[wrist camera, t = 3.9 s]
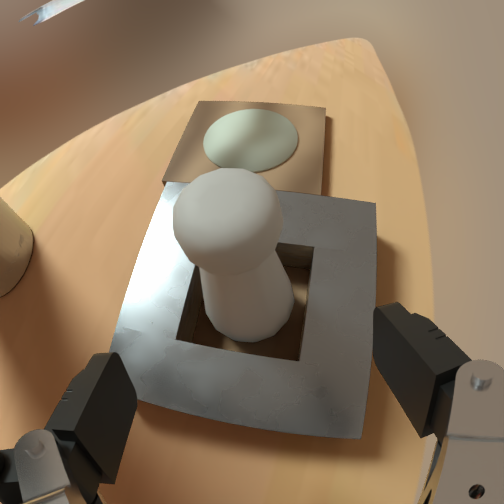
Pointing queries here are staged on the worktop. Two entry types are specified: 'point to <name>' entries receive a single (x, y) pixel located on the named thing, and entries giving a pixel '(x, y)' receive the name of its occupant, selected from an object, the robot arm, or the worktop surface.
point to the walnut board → (253, 143)
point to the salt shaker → (236, 251)
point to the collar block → (253, 366)
